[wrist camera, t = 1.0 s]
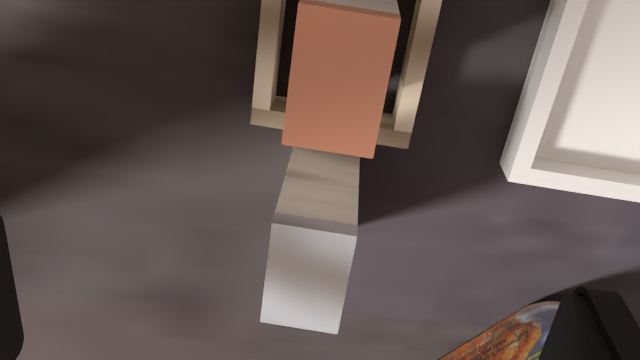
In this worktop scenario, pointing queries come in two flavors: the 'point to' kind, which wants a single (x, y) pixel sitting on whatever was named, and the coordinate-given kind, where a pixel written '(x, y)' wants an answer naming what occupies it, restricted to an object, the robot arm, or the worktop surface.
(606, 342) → the robot arm
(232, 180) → the worktop surface
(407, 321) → the worktop surface
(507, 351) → the tin
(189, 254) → the worktop surface
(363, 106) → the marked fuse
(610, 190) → the tray
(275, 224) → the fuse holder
